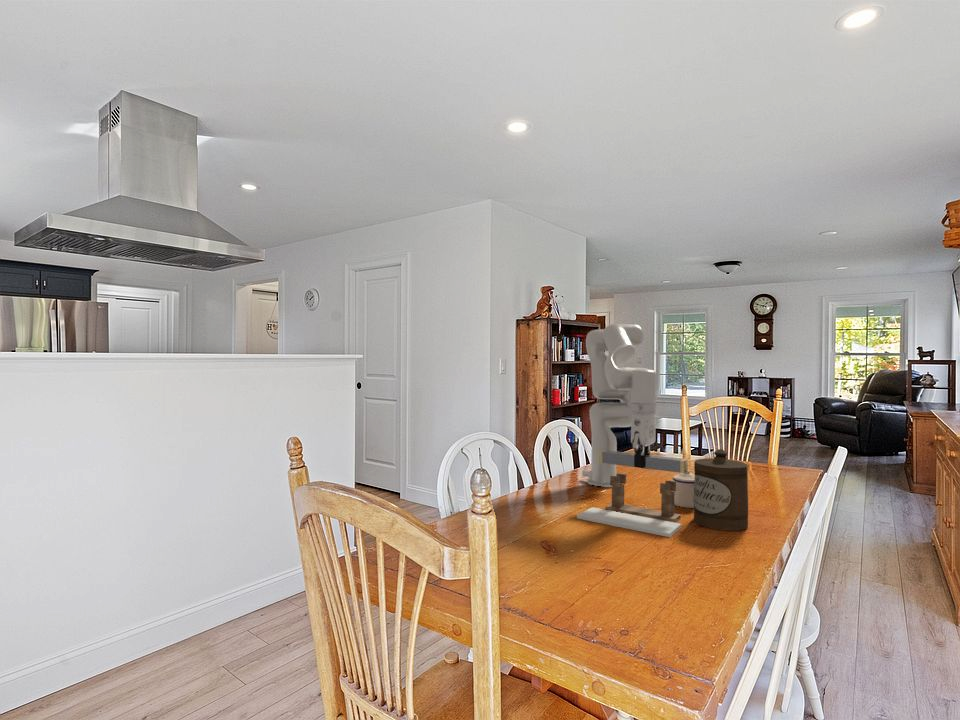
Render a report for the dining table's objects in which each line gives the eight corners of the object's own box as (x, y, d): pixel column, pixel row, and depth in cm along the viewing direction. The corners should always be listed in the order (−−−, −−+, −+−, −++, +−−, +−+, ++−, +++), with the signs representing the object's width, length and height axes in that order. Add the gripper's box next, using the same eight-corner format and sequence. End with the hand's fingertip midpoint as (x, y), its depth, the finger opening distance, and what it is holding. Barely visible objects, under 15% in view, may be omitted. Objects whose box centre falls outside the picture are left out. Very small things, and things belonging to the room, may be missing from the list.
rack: (605, 509, 174) (605, 475, 174) (612, 505, 179) (613, 472, 179) (674, 522, 161) (675, 485, 161) (680, 517, 166) (681, 482, 166)
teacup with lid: (699, 510, 175) (699, 474, 175) (670, 506, 179) (670, 471, 179) (703, 501, 185) (704, 467, 185) (676, 498, 190) (676, 465, 190)
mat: (576, 518, 164) (576, 515, 164) (592, 510, 173) (592, 507, 173) (669, 537, 148) (669, 533, 148) (681, 527, 157) (681, 523, 157)
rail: (599, 462, 177) (599, 451, 177) (603, 460, 180) (603, 449, 180) (684, 473, 161) (684, 461, 161) (687, 471, 164) (687, 459, 164)
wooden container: (682, 519, 165) (683, 447, 165) (717, 513, 171) (718, 444, 171) (723, 533, 151) (724, 455, 151) (759, 527, 158) (760, 452, 157)
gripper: (645, 412, 161) (644, 473, 162) (663, 407, 175) (662, 463, 175) (621, 410, 166) (620, 469, 166) (640, 405, 179) (639, 460, 180)
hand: (641, 465), depth 171 cm, fingers closed on rail, 3 cm apart
